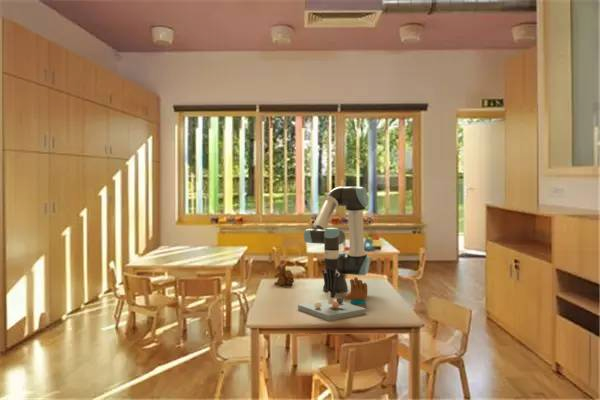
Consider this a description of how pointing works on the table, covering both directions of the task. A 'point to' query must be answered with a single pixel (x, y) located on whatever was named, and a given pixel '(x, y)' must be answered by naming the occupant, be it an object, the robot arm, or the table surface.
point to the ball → (335, 304)
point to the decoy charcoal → (339, 300)
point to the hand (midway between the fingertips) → (331, 303)
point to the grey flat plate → (332, 310)
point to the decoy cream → (317, 305)
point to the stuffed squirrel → (283, 275)
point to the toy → (357, 292)
